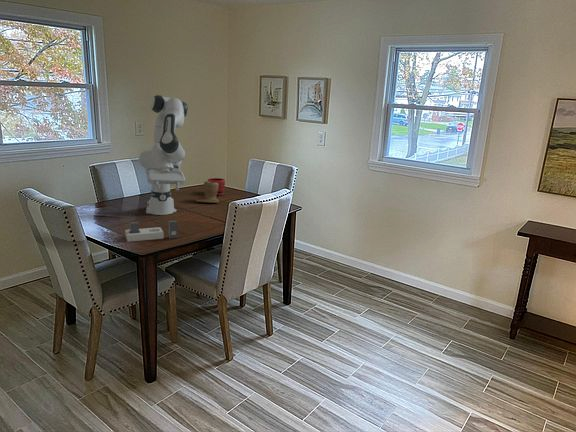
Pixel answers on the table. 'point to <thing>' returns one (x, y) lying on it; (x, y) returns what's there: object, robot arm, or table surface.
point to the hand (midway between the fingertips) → (169, 189)
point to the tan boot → (209, 193)
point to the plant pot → (221, 184)
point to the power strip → (143, 233)
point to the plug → (173, 229)
